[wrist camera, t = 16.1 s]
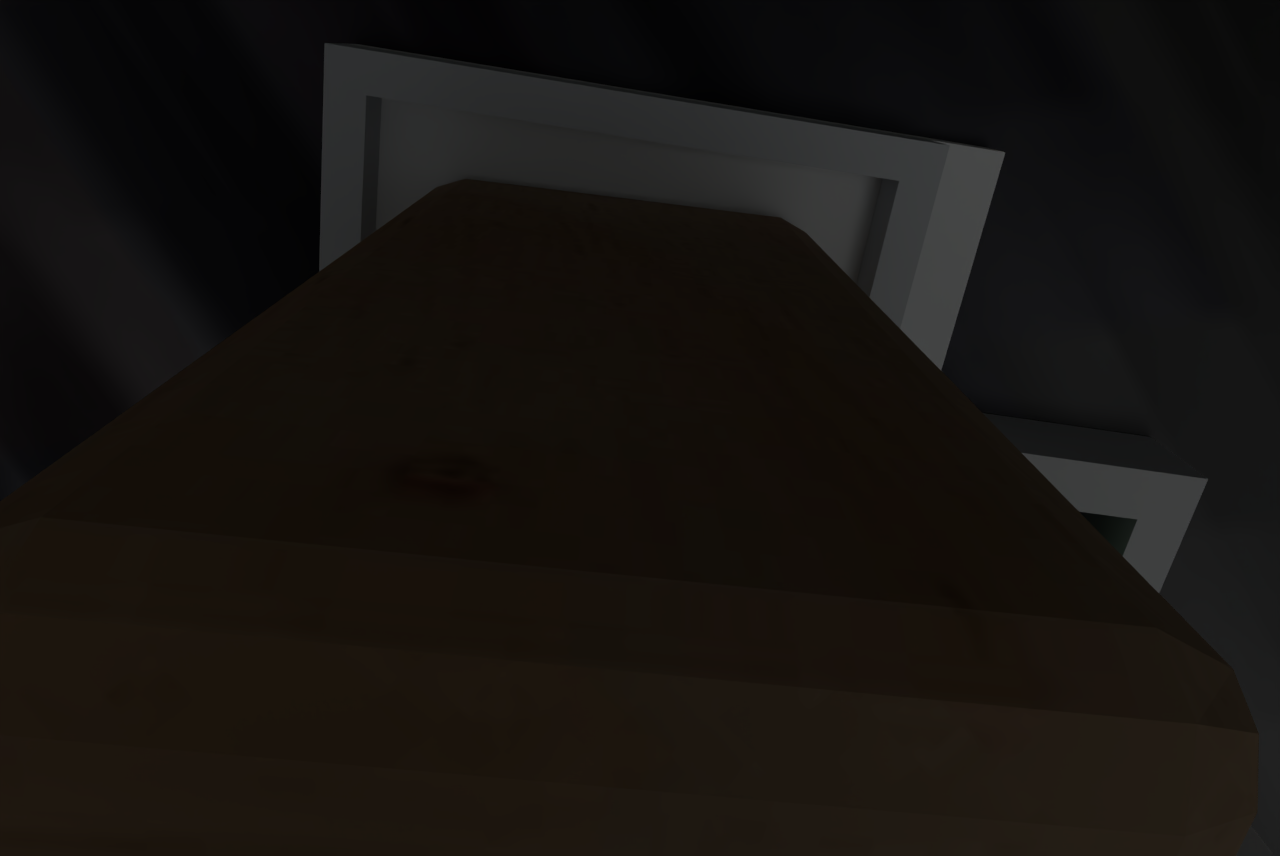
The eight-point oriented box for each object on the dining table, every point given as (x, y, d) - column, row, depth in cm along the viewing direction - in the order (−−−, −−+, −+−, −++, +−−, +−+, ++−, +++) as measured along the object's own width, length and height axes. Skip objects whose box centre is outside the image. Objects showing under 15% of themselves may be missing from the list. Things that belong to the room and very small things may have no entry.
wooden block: (433, 168, 24) (-238, 581, 5) (811, 215, 24) (1386, 731, 6) (420, 510, 28) (0, 1446, 9) (749, 543, 28) (981, 1486, 10)
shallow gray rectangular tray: (356, 43, 24) (324, 42, 21) (988, 147, 25) (1028, 158, 22) (338, 546, 29) (311, 592, 27) (855, 611, 31) (875, 661, 28)
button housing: (899, 401, 28) (929, 439, 25) (1151, 437, 28) (1208, 479, 26) (837, 622, 31) (858, 679, 28) (1066, 651, 31) (1109, 709, 29)
